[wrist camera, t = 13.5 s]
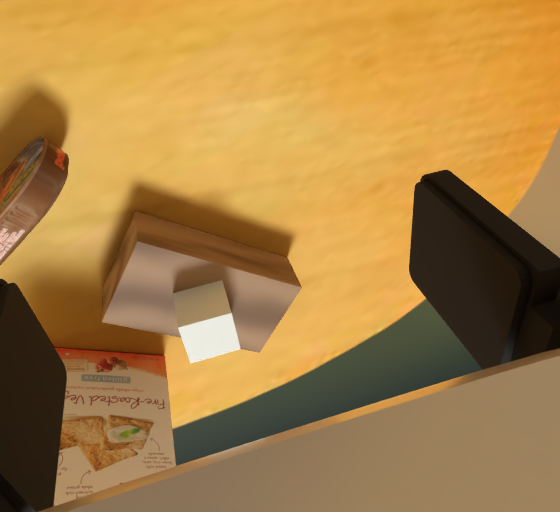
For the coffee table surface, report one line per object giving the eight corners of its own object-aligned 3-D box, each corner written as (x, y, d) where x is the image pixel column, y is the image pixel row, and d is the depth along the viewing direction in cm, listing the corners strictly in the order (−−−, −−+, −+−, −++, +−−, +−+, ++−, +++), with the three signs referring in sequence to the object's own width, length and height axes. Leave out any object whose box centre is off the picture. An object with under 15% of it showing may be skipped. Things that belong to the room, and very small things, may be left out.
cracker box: (166, 351, 59) (184, 519, 43) (154, 384, 62) (167, 554, 46) (41, 342, 53) (7, 533, 37) (34, 379, 56) (0, 572, 40)
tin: (47, 121, 40) (34, 162, 34) (80, 145, 42) (73, 188, 36) (-54, 238, 44) (-84, 296, 37) (-20, 255, 46) (-42, 314, 39)
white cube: (222, 280, 48) (231, 312, 44) (231, 315, 51) (240, 349, 47) (172, 293, 47) (178, 327, 43) (184, 328, 50) (190, 363, 46)
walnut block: (135, 208, 48) (137, 241, 43) (286, 255, 56) (301, 287, 51) (103, 284, 52) (101, 322, 47) (248, 317, 60) (259, 352, 56)
